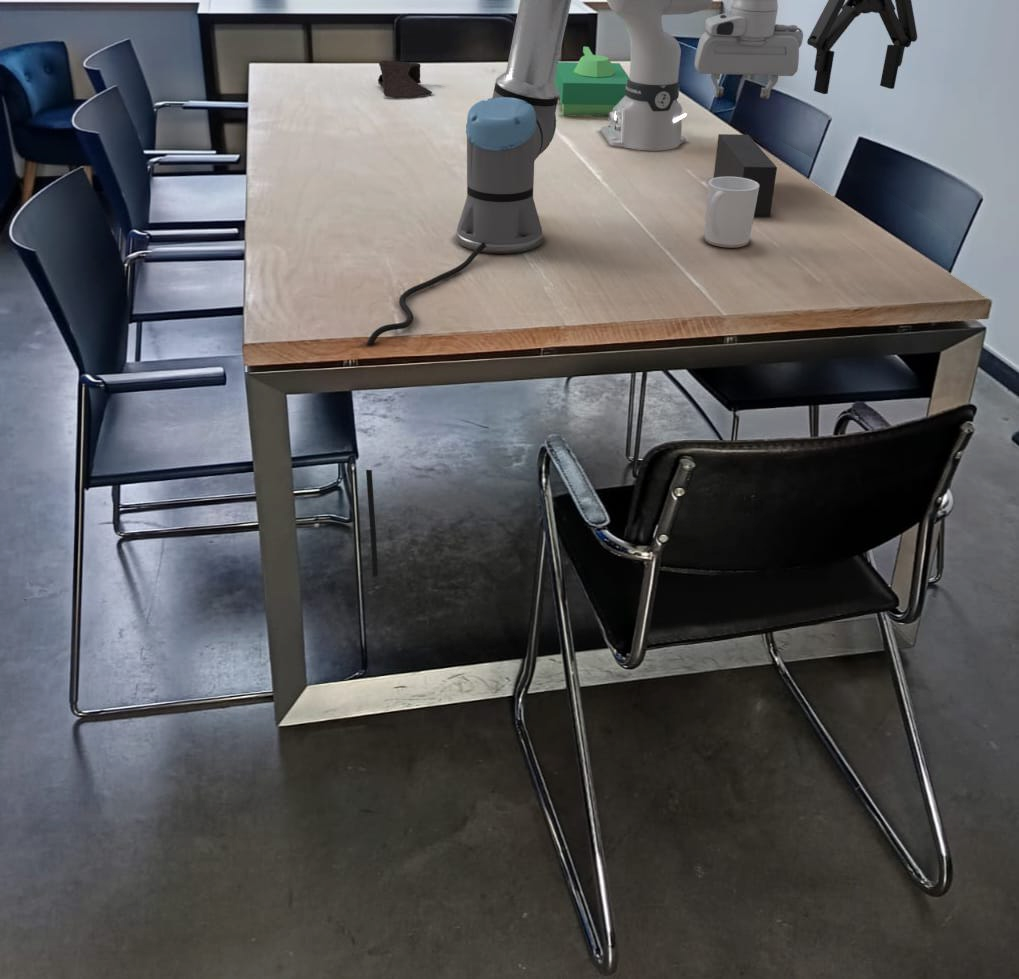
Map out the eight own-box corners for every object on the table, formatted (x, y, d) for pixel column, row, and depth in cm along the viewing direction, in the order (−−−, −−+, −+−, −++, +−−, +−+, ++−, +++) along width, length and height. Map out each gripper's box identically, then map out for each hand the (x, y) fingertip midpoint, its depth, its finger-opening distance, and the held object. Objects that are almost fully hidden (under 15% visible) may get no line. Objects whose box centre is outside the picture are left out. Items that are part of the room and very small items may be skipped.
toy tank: (616, 43, 300) (635, 68, 271) (613, 90, 307) (630, 119, 277) (552, 42, 300) (564, 66, 270) (550, 88, 306) (561, 118, 276)
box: (769, 216, 211) (777, 167, 206) (737, 216, 211) (744, 166, 206) (742, 180, 232) (748, 134, 227) (713, 179, 232) (718, 134, 227)
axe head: (443, 87, 294) (392, 77, 287) (436, 115, 299) (385, 106, 292) (421, 62, 307) (371, 52, 300) (414, 89, 311) (365, 80, 304)
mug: (717, 229, 203) (724, 173, 198) (760, 239, 198) (768, 183, 193) (686, 243, 196) (692, 186, 190) (730, 255, 191) (737, 196, 186)
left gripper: (925, -56, 178) (898, 80, 189) (798, -53, 170) (778, 89, 181) (958, -51, 172) (928, 89, 183) (828, -48, 164) (805, 99, 175)
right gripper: (800, 22, 215) (788, 94, 223) (697, 19, 214) (689, 92, 222) (809, 28, 210) (796, 102, 218) (703, 25, 209) (694, 99, 217)
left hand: (854, 89), depth 182 cm, fingers open, 13 cm apart
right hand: (741, 97), depth 220 cm, fingers open, 8 cm apart
